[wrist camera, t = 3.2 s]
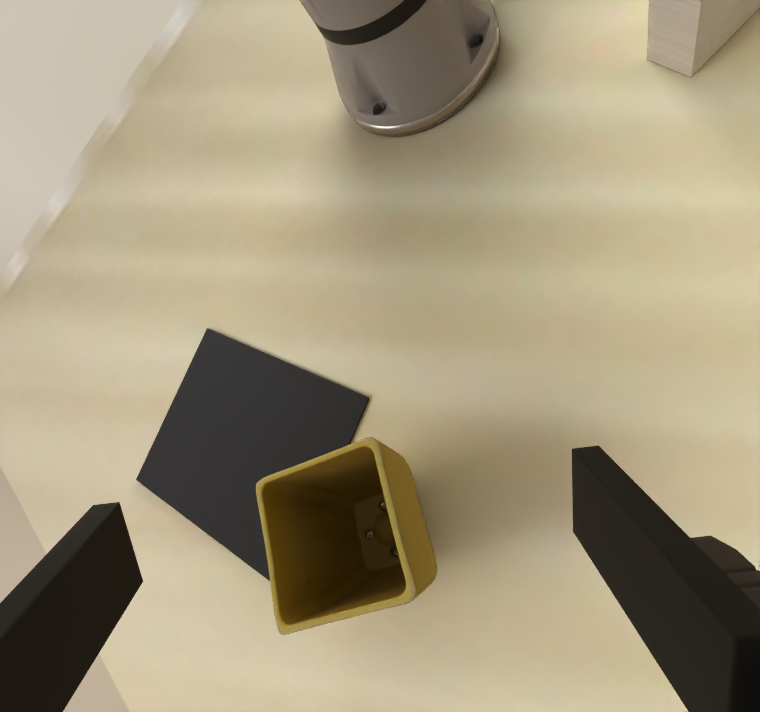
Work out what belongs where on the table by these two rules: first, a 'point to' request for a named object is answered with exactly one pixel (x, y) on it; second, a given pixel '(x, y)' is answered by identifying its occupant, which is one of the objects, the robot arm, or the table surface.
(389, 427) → the table surface
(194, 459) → the felt pad
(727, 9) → the grey rectangular block
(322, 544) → the flower pot
